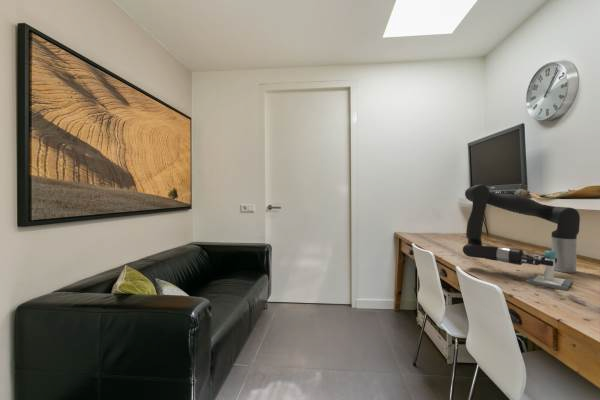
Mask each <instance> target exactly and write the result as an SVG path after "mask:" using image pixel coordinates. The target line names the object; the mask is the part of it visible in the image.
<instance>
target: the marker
mask: <svg viewBox="0 0 600 400" xmlns="http://www.w3.org/2000/svg"><path fill="white" fill-rule="evenodd" d="M544 255H545V260H549V261H553V266H548V265H544V273H543V275H544V279H545V280H548V281H554V277H555V270H554V266H555V256H556V252H554V251H552V250H546V249H545V250H544Z"/></svg>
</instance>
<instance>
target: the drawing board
mask: <svg viewBox="0 0 600 400" xmlns="http://www.w3.org/2000/svg"><path fill="white" fill-rule="evenodd" d="M525 283H527V284H531V285H536V286H541V287H542V286H543V287H547V288H552V289H557V290H562V291H568V289H569V288H570V287H571V285H572V284H573V280H572V279H569V278H568V279H567V278H562V277H556V276H554V281H548V280H545V279H544V274H539V273H533V274H532V275H531V276H529V277H528V278H527V279H525Z"/></svg>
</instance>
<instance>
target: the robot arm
mask: <svg viewBox="0 0 600 400" xmlns="http://www.w3.org/2000/svg"><path fill="white" fill-rule="evenodd" d="M464 195H465V196H464V197H465V198H466V199H467V200H468V201H470V202H472V208H471V212H470V215H469V217H468V220H467V224H466V232H465V236H466V239H467V244H465V245H464V246H463V247H462V252H463V254H464V255H465V256H466V257H470V258H477V259H485V260H491V261H496V262H500V263H506V264H512V265H518V266H521V265H523V264H527V265H533V266H541V265H542V266H545V265H548V266H553V261H549V260H545V254H539V253H538V254H537V253H531V252H529V253H527V254H524V250H523V249H519V248H513V247H512V248H511V247H504V246H502V247H499V246H493V245H483V244H482V243H483V242H482V235H483V234H482V232H483V223H484V218H485V213H486V212H485V211H486V209H487V205H489V206H492V207H495V208H498V209H500V210H501V209H502V210H504V211H505V210H506V211H509V212H511V213H515V214H520V215H523V216H529V217H531V216H532V217H537V218H539V219H542V220H546V221H548V222H551V223H553V224H557V226H556V229H555V230H553V231H552V232H551V251H554V252H556V256H555V266H554V272H555V271H556V272H561V273H568V274H569V273H570V274H575V273H577V236H578V234H579V233H580V221H581V217H580V213H579V211H578V210H577V209H575V208H573V207H569V206H568V207H567V206H566V207H565V206H553V205H549V204H543V203H541V202H540V203H539V202H538V201H535V200H534V199H531V198H530V197H529V198H528V197H526V196H521V195H517V194H511V193H499V192H493V191H490V188H488V187H487V186H486V185H484V184H476V185H473V186H470V187H468V188H467V189H466V190H465V191H464Z"/></svg>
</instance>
